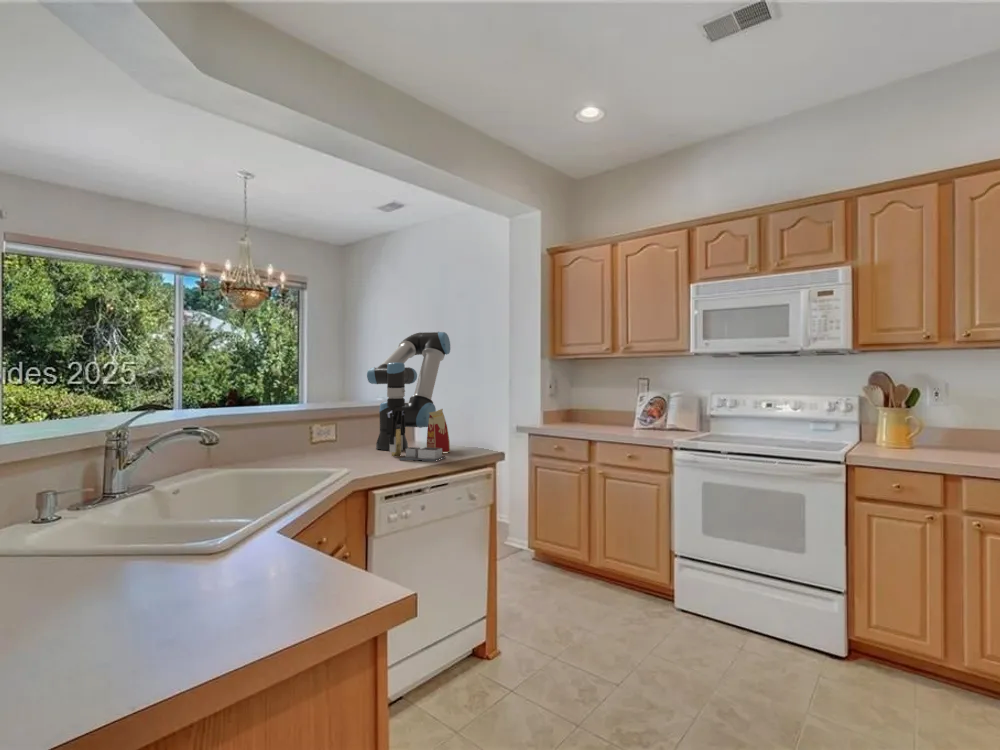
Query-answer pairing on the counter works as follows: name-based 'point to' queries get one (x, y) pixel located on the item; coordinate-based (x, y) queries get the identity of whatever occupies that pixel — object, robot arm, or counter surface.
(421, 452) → the manifold plate
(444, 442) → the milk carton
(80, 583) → the counter surface
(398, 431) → the brass valve
